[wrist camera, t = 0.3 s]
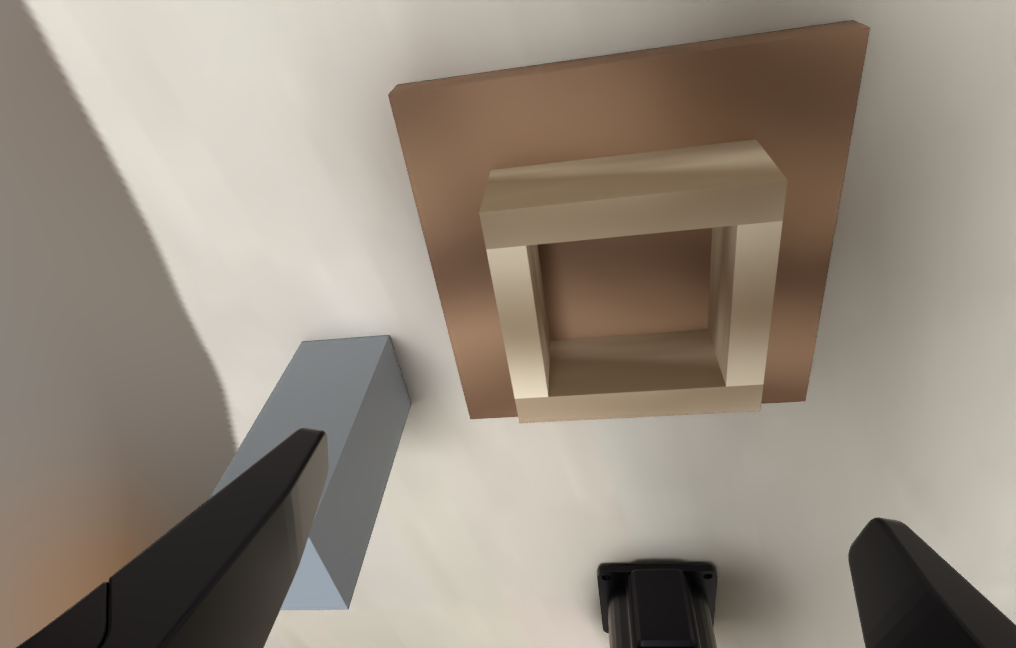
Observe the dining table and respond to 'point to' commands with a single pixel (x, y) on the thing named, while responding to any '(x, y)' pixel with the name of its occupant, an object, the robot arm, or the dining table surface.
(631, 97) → the socket block
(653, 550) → the dining table surface
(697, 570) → the robot arm
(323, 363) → the peg
